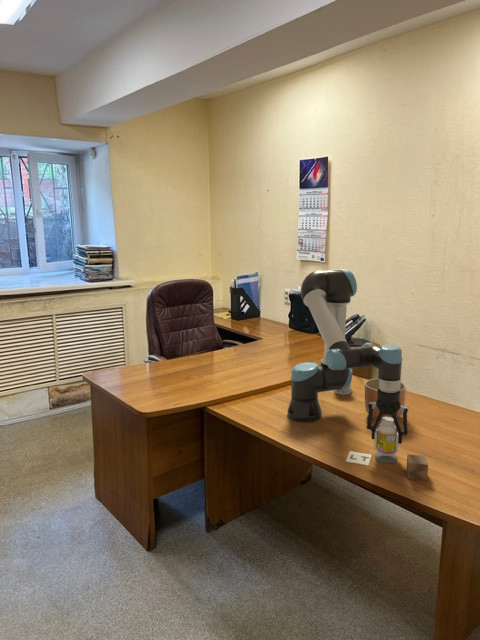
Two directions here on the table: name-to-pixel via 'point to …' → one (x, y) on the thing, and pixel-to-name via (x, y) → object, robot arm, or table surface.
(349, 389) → the cup
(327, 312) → the robot arm
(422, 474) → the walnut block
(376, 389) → the planter
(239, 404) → the table surface
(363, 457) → the tile
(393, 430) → the supplement bottle
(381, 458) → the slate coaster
